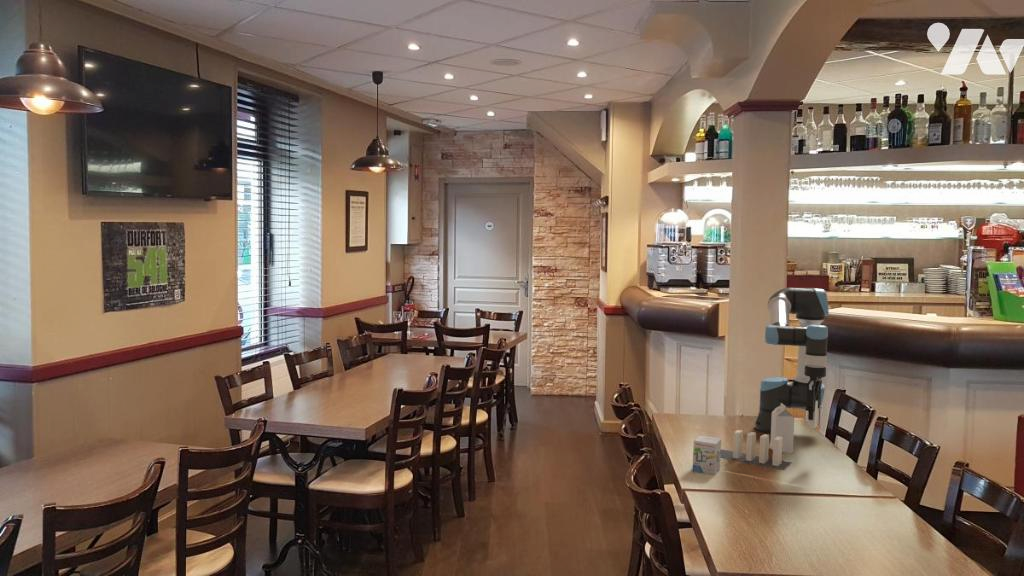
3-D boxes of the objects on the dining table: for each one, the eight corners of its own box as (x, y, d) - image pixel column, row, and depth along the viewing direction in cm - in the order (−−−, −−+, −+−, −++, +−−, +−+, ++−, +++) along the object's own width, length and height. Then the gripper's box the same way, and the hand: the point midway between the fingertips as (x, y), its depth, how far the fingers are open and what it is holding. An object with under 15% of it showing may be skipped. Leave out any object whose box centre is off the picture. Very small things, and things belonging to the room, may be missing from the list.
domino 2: (749, 457, 283) (750, 431, 282) (755, 458, 282) (756, 432, 281) (745, 460, 279) (746, 434, 278) (751, 461, 278) (752, 435, 277)
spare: (811, 425, 279) (812, 399, 278) (816, 426, 277) (817, 400, 277) (808, 428, 274) (809, 401, 274) (813, 428, 273) (814, 402, 273)
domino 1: (737, 454, 286) (738, 429, 285) (742, 455, 284) (743, 430, 284) (732, 457, 282) (733, 432, 281) (738, 458, 280) (739, 433, 280)
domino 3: (762, 459, 280) (763, 434, 279) (768, 460, 279) (769, 434, 278) (758, 462, 276) (759, 436, 275) (764, 463, 275) (765, 437, 274)
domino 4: (776, 462, 277) (777, 436, 276) (781, 463, 276) (782, 437, 275) (772, 465, 273) (773, 439, 272) (777, 466, 272) (778, 439, 271)
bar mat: (720, 450, 293) (720, 449, 293) (792, 463, 277) (792, 462, 277) (709, 456, 283) (709, 455, 283) (783, 471, 267) (783, 470, 267)
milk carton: (787, 448, 297) (789, 403, 296) (792, 453, 290) (795, 406, 289) (770, 448, 298) (772, 402, 296) (774, 452, 291) (776, 406, 289)
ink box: (691, 471, 265) (692, 440, 264) (697, 465, 272) (698, 434, 272) (715, 475, 261) (716, 443, 260) (720, 469, 268) (721, 438, 268)
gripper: (810, 361, 284) (808, 420, 285) (799, 367, 269) (796, 429, 271) (831, 363, 279) (828, 423, 281) (820, 370, 265) (817, 432, 266)
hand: (812, 426), depth 276 cm, fingers closed on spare, 5 cm apart
